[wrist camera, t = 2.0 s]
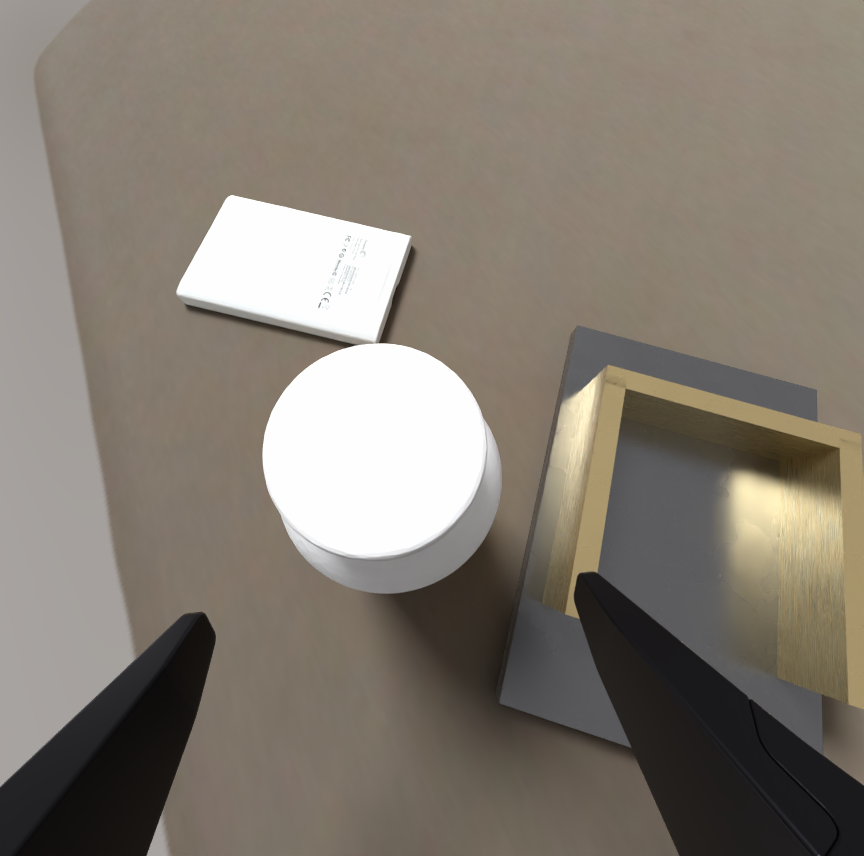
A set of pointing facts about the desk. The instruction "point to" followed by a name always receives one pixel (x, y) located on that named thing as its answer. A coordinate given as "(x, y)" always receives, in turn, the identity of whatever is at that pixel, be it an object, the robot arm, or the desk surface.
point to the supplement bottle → (382, 468)
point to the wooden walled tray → (692, 535)
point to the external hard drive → (297, 271)
